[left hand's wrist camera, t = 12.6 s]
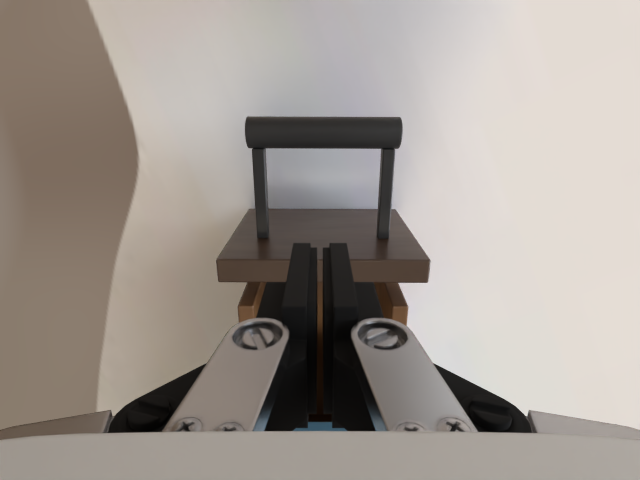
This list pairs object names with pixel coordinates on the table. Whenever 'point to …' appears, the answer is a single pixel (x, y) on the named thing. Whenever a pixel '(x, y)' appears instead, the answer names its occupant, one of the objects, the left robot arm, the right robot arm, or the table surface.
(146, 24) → the table surface
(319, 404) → the drawer
